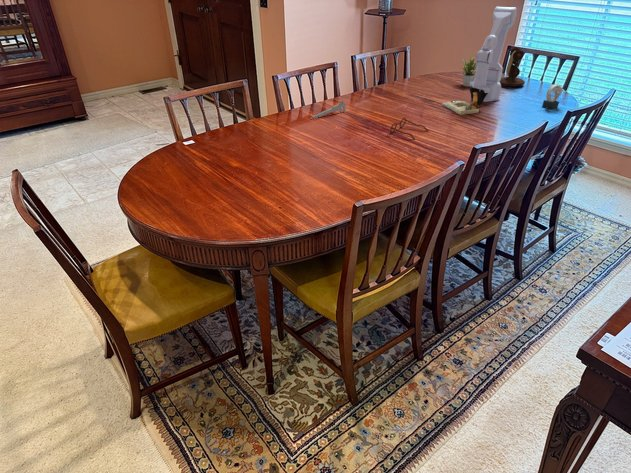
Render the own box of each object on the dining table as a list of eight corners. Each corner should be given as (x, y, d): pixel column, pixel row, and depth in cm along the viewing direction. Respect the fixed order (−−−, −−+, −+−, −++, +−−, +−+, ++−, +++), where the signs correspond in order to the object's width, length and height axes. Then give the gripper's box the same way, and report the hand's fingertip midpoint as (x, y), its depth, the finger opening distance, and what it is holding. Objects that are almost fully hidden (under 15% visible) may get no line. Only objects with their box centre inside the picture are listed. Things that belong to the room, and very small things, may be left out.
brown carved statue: (494, 82, 261) (501, 46, 249) (520, 82, 259) (528, 46, 247) (499, 88, 248) (506, 51, 237) (526, 88, 246) (535, 51, 235)
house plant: (484, 88, 249) (490, 58, 240) (460, 89, 250) (464, 59, 241) (477, 82, 261) (482, 53, 252) (454, 83, 262) (458, 54, 253)
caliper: (344, 112, 225) (344, 99, 222) (345, 112, 224) (345, 100, 221) (310, 119, 217) (309, 107, 214) (311, 120, 216) (310, 107, 213)
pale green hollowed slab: (459, 102, 230) (460, 97, 228) (478, 112, 215) (479, 107, 214) (442, 104, 228) (442, 99, 226) (460, 115, 213) (461, 109, 212)
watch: (560, 107, 218) (566, 84, 211) (549, 110, 215) (555, 87, 208) (550, 104, 222) (556, 82, 216) (539, 107, 219) (545, 85, 213)
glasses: (403, 126, 204) (404, 116, 201) (428, 132, 197) (430, 121, 194) (389, 135, 196) (389, 124, 193) (414, 141, 189) (416, 129, 186)
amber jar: (477, 104, 226) (479, 90, 221) (482, 107, 221) (485, 93, 217) (468, 106, 225) (471, 91, 220) (474, 108, 221) (476, 94, 216)
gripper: (465, 73, 220) (461, 100, 227) (482, 80, 208) (477, 108, 215) (478, 72, 221) (473, 99, 229) (495, 78, 209) (490, 106, 217)
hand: (476, 103), depth 222 cm, fingers closed on amber jar, 5 cm apart
